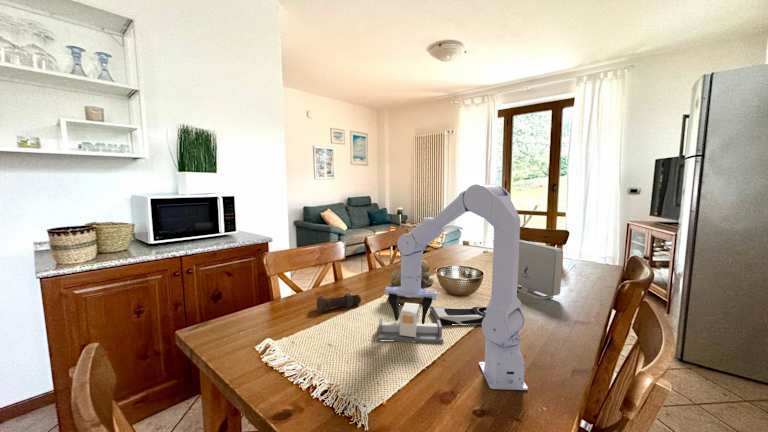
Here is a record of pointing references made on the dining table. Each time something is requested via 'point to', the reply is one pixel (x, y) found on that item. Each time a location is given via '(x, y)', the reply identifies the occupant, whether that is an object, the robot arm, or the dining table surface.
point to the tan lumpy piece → (424, 282)
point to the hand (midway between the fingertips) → (409, 320)
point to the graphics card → (459, 315)
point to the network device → (539, 269)
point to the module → (409, 319)
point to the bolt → (337, 302)
